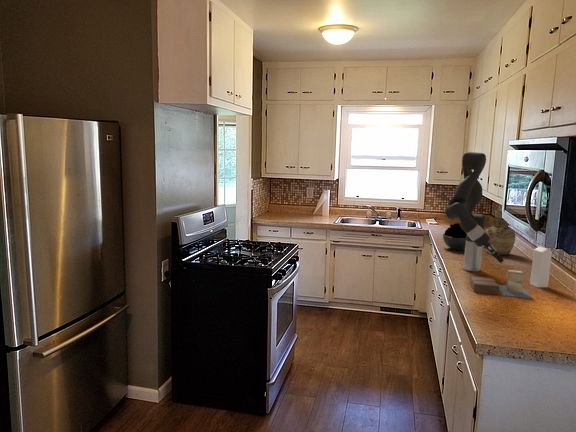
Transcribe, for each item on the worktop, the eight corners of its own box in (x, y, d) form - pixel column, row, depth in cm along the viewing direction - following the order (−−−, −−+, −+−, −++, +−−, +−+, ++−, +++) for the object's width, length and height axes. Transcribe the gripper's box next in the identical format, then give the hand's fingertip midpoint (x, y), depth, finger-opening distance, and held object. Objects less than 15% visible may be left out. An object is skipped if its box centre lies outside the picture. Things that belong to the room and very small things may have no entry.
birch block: (505, 289, 222) (508, 269, 220) (518, 290, 220) (521, 271, 219) (507, 291, 218) (510, 272, 216) (521, 292, 216) (523, 273, 215)
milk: (539, 284, 235) (544, 243, 232) (547, 287, 229) (553, 246, 226) (529, 284, 234) (534, 243, 231) (537, 287, 228) (542, 245, 225)
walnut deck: (469, 283, 231) (470, 275, 230) (492, 285, 228) (492, 278, 228) (473, 291, 217) (474, 283, 216) (498, 294, 214) (498, 286, 213)
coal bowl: (466, 247, 324) (469, 222, 321) (475, 253, 304) (478, 226, 301) (438, 246, 326) (441, 220, 323) (445, 251, 306) (448, 225, 303)
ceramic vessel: (485, 248, 322) (490, 208, 317) (516, 254, 307) (521, 211, 303) (476, 252, 308) (480, 210, 303) (508, 258, 294) (513, 213, 289)
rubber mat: (495, 285, 229) (495, 284, 229) (522, 288, 226) (522, 287, 226) (503, 295, 212) (503, 294, 212) (532, 298, 209) (532, 298, 209)
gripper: (486, 232, 212) (510, 258, 211) (481, 228, 226) (503, 252, 225) (473, 242, 214) (496, 268, 213) (469, 237, 228) (491, 261, 227)
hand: (500, 259), depth 219 cm, fingers open, 8 cm apart
